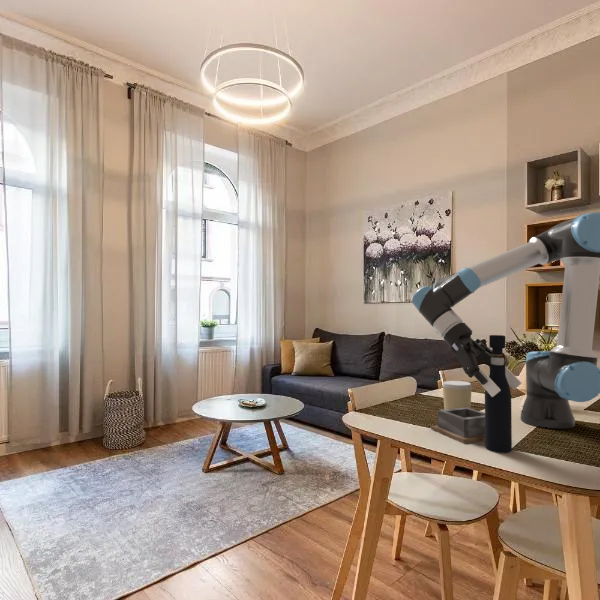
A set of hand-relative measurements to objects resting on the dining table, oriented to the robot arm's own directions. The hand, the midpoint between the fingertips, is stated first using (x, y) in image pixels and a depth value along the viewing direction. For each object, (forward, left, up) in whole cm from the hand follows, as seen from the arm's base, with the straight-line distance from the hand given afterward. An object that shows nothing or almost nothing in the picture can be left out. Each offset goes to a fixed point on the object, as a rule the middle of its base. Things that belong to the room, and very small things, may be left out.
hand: (507, 390), depth 109 cm
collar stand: (0, -16, -16) cm, 22 cm away
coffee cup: (-9, -30, -16) cm, 35 cm away
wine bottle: (+1, -2, -16) cm, 16 cm away
